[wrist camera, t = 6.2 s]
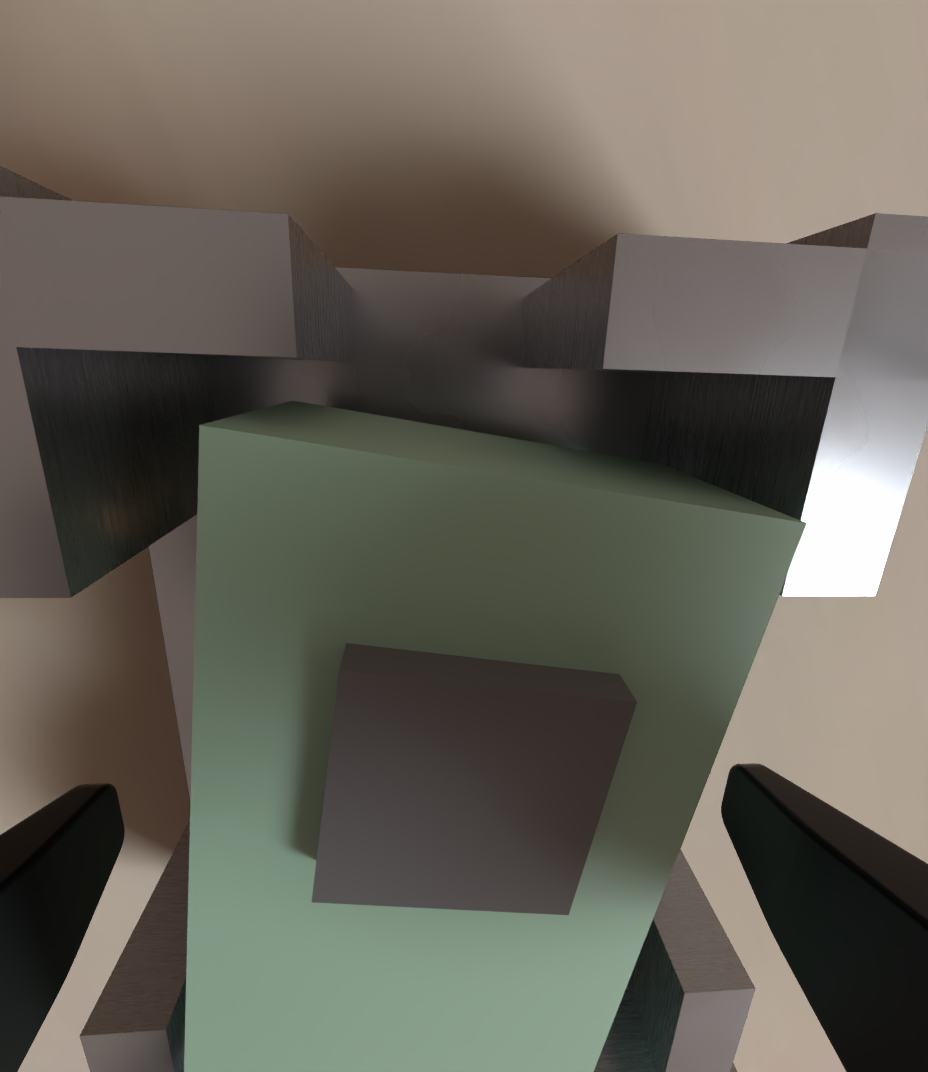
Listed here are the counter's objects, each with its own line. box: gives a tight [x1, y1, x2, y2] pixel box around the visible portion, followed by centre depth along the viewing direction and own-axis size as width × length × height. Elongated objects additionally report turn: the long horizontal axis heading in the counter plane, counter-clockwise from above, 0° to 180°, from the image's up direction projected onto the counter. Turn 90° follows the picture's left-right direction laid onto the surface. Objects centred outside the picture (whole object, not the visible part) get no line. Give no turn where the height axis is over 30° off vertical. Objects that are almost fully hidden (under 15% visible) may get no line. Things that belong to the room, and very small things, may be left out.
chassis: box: [0, 166, 928, 1072], centre depth 10 cm, size 15×11×6 cm
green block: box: [184, 401, 807, 1072], centre depth 8 cm, size 10×6×4 cm, turn 170°
